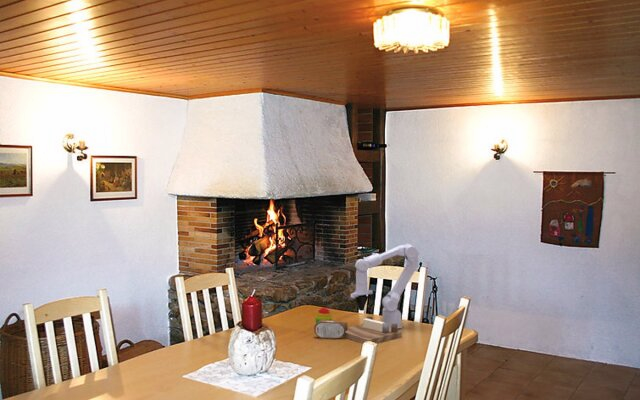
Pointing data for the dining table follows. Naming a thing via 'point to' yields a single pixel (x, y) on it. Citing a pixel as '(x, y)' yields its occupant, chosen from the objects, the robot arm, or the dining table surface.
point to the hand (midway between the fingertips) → (361, 310)
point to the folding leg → (376, 325)
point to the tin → (330, 329)
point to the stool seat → (371, 333)
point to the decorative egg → (323, 315)
